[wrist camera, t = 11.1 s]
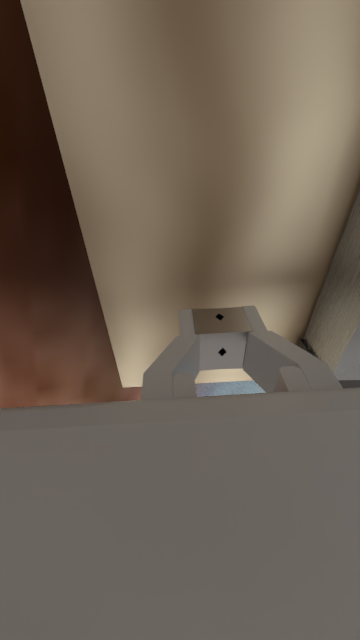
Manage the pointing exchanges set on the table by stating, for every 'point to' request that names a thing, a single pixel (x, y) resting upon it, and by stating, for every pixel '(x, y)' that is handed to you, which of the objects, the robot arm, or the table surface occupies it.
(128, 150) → the board
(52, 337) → the table surface
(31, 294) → the table surface
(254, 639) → the robot arm
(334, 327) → the tongs arm
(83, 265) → the table surface
